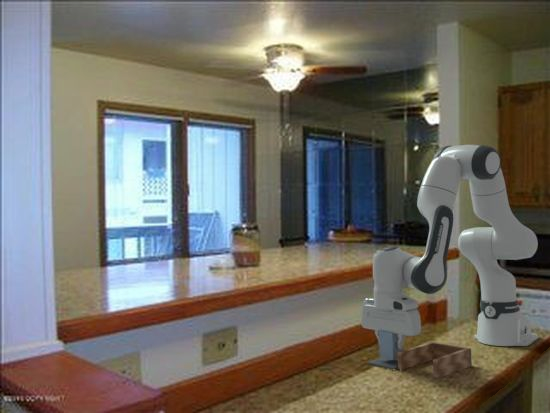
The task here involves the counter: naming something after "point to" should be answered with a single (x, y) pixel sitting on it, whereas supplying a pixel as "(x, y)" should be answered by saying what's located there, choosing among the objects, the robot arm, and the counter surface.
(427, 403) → the counter surface
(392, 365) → the pad
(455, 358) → the frame
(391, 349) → the block
